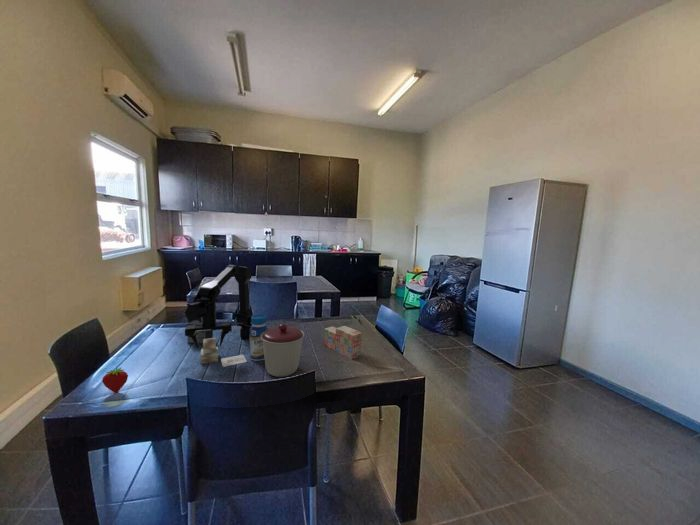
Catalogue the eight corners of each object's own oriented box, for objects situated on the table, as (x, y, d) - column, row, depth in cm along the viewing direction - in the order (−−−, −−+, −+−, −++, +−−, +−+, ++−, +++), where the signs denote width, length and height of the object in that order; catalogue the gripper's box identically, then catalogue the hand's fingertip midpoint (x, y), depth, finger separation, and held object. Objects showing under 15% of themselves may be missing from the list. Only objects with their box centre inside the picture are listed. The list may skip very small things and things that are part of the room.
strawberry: (109, 388, 107) (107, 362, 105) (132, 386, 108) (130, 361, 107) (98, 397, 101) (96, 371, 100) (123, 396, 103) (121, 369, 101)
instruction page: (243, 354, 138) (243, 354, 138) (246, 362, 131) (246, 361, 131) (220, 359, 132) (220, 358, 132) (223, 367, 126) (223, 366, 126)
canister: (305, 361, 134) (307, 317, 131) (300, 382, 116) (301, 332, 113) (266, 360, 134) (267, 316, 131) (254, 381, 116) (254, 331, 113)
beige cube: (215, 347, 135) (215, 337, 134) (215, 352, 130) (215, 341, 130) (203, 349, 133) (203, 338, 132) (203, 353, 128) (203, 343, 128)
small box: (213, 340, 153) (213, 321, 151) (206, 345, 146) (206, 325, 145) (195, 338, 154) (194, 319, 152) (186, 343, 147) (186, 323, 146)
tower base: (218, 354, 137) (218, 346, 136) (218, 361, 130) (217, 353, 130) (201, 356, 134) (201, 348, 133) (200, 363, 128) (200, 355, 127)
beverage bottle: (262, 351, 142) (262, 312, 139) (271, 357, 136) (271, 317, 134) (246, 356, 136) (246, 315, 134) (254, 363, 130) (254, 320, 128)
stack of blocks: (323, 345, 153) (324, 323, 151) (332, 342, 157) (333, 320, 156) (351, 360, 138) (353, 335, 136) (360, 356, 142) (362, 332, 141)
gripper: (230, 307, 140) (231, 337, 143) (187, 310, 133) (188, 342, 135) (231, 313, 130) (231, 346, 132) (184, 317, 123) (185, 352, 125)
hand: (209, 346), depth 131 cm, fingers open, 9 cm apart
